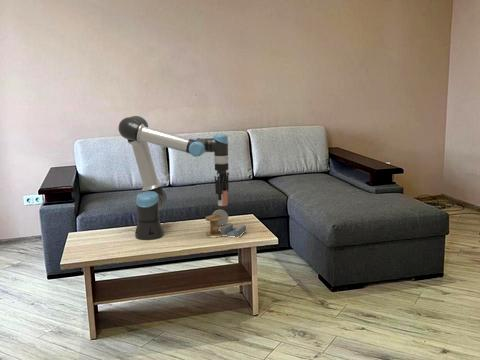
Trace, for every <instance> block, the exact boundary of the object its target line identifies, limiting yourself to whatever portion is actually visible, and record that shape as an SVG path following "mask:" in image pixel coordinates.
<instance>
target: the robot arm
mask: <svg viewBox="0 0 480 360" xmlns="http://www.w3.org/2000/svg"><path fill="white" fill-rule="evenodd" d="M118 132H119V135H120V136H121V137H123V138H124V139H125V140H127V143H128V144H129V145H131V146H132V150H133V155H134V157H135V162H136V164H137V168H138V169H137V170H138V173H139V175H140V180H141V182H142V186H143V187H142V189H141V192H140V193H138V194H137V195H136V200H135V202H136V203H135V204H136V217H137V224H136V227H135V232H134V233H135V236H134V237H135V239H139V240H143V241H144V240H146V241H147V240H157V239H160V238H162V237H163V236H164V230H163V226H162V224H161V221H160V211H161V210H162V209H163V208H164V207H165V206H166V204H167V203H168V200H169V199H168V194H167V192H166V190H164V188H163V184H161V183H160V182H159V180H158V176H157V173H156V169H155V166H154V165H155V164H154V161H153V158H152V155H151V150H150V148H149V144H154V145H155V146H156V145H157V146H161V147H164V148H168V149H171V150H176V151H179V152H183V153H187V154H190V155H191V156H192V157H196V158H198V157H200V156H202V155H204V154H205V153H214V170H215V171H216V175H215V176H214V186H215V190H214V191H215V194H216V195H217V206H219V207H224V206H223V194H222V190H226V191H227V193H229V188H230V187H229V183H230V182H229V178H230V177H229V175H230V173H229V172H228V171H229V159H230V157H229V140H228V138H229V137H228V135H227V134H225V133H223V134H222V133H221V134H214V135H213V137H212V138H206V137H205V138H204V137H203V138H200V137H197V138H190V137H189V138H188V137H186V136H182V135H177V134H174V133H171V132H170V133H169V132H166V131H163V130H159V129H156V128H152V127H149V124H148V121H147V120H146V118H144V117H143V116H140V115H133V116H129V117H128V116H127V117H125V118H122V119H121V121H120V122H119V124H118ZM148 143H149V144H148Z"/></svg>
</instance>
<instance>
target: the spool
mask: <svg viewBox="0 0 480 360" xmlns="http://www.w3.org/2000/svg"><path fill="white" fill-rule="evenodd" d="M220 220H222V216H220V215H212V214H211V215H207V216H205V221H208V222H209V225H210V228H209V229H210V230H209V231H207V232H206V233H205V235H207V236H220V235H222V234H221V230H219V226H218V221H220ZM207 236H206V237H207Z"/></svg>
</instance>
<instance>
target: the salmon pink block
mask: <svg viewBox="0 0 480 360" xmlns="http://www.w3.org/2000/svg"><path fill="white" fill-rule="evenodd" d="M227 191H228V190H227ZM227 191H226V190H222V194H223V206H222V207H226V206H228V204H229V202H228V199H229V198H228V197H229V196H228V192H227Z"/></svg>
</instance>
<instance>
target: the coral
mask: <svg viewBox="0 0 480 360" xmlns="http://www.w3.org/2000/svg"><path fill="white" fill-rule="evenodd" d="M211 215H220V216H222V220H220V221H218V225H222V224H224V225H226V224H227V222H228V221H229V215H228V212H227V211H226V210H224V209H217V210H214V211H213V212H212V214H211ZM222 226H223V225H222Z"/></svg>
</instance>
